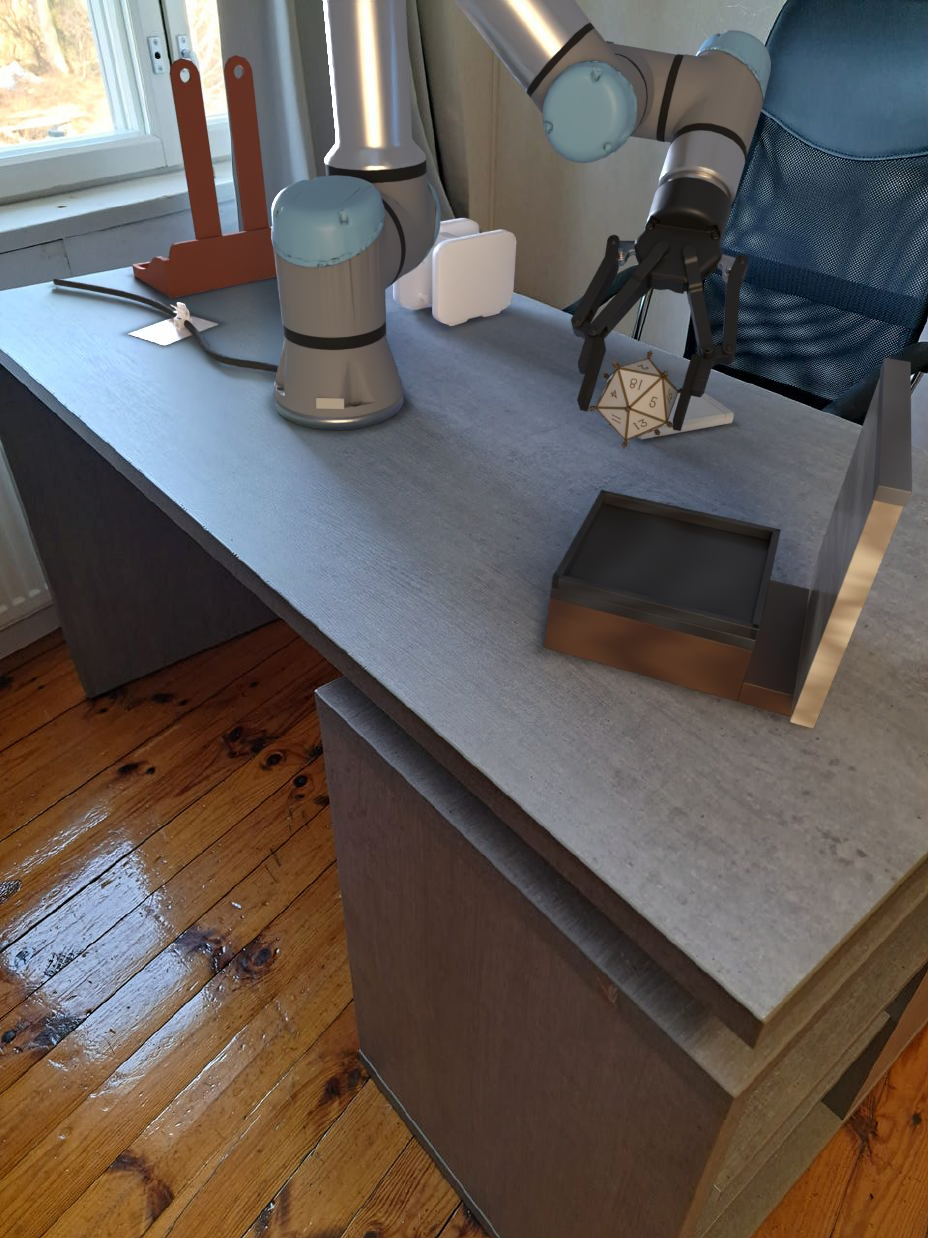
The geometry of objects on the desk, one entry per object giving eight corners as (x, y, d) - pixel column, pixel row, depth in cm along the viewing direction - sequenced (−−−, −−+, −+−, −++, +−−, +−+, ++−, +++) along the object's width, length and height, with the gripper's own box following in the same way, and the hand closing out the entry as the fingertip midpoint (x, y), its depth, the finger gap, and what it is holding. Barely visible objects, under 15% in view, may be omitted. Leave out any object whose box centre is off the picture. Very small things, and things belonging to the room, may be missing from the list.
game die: (609, 473, 88) (560, 402, 82) (632, 415, 92) (587, 343, 86) (689, 458, 82) (642, 380, 76) (710, 396, 86) (667, 318, 80)
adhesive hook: (195, 326, 120) (192, 303, 118) (182, 331, 119) (177, 309, 117) (180, 321, 122) (176, 299, 120) (166, 327, 120) (162, 304, 118)
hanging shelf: (267, 250, 149) (245, 43, 131) (308, 269, 142) (290, 53, 123) (134, 275, 137) (87, 51, 118) (170, 297, 129) (127, 61, 110)
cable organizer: (434, 332, 121) (434, 246, 114) (390, 311, 128) (388, 227, 120) (513, 311, 129) (518, 229, 122) (469, 292, 135) (471, 213, 128)
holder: (531, 671, 66) (557, 420, 53) (600, 538, 81) (634, 316, 68) (806, 751, 61) (912, 492, 47) (826, 592, 75) (910, 361, 62)
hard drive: (643, 428, 96) (735, 411, 100) (606, 398, 102) (694, 384, 106) (641, 441, 97) (732, 424, 101) (605, 411, 103) (692, 396, 107)
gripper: (801, 235, 84) (738, 452, 83) (592, 206, 90) (529, 407, 88) (813, 187, 77) (744, 424, 75) (584, 159, 83) (516, 377, 81)
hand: (628, 415), depth 82 cm, fingers closed on game die, 8 cm apart
